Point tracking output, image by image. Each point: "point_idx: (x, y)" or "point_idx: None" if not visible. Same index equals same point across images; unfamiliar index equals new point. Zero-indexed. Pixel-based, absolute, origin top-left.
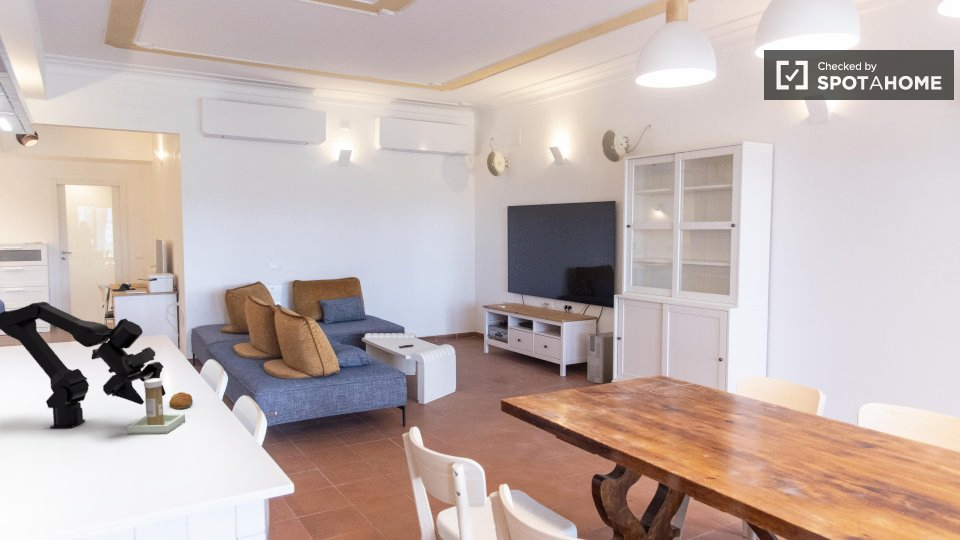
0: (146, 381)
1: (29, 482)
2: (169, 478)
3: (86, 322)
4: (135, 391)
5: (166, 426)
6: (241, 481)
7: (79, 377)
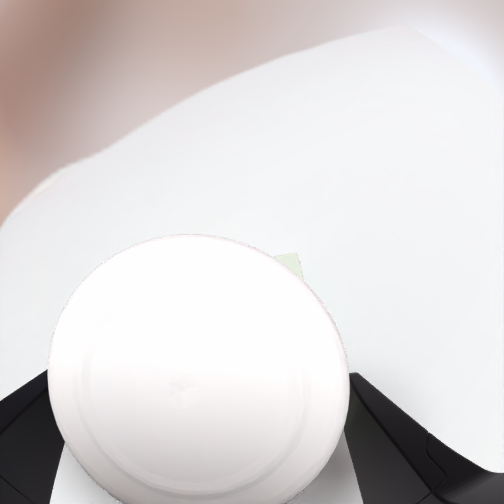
0: (331, 429)
1: None
2: (479, 117)
3: None
4: (413, 449)
5: (296, 255)
6: (430, 50)
7: None
